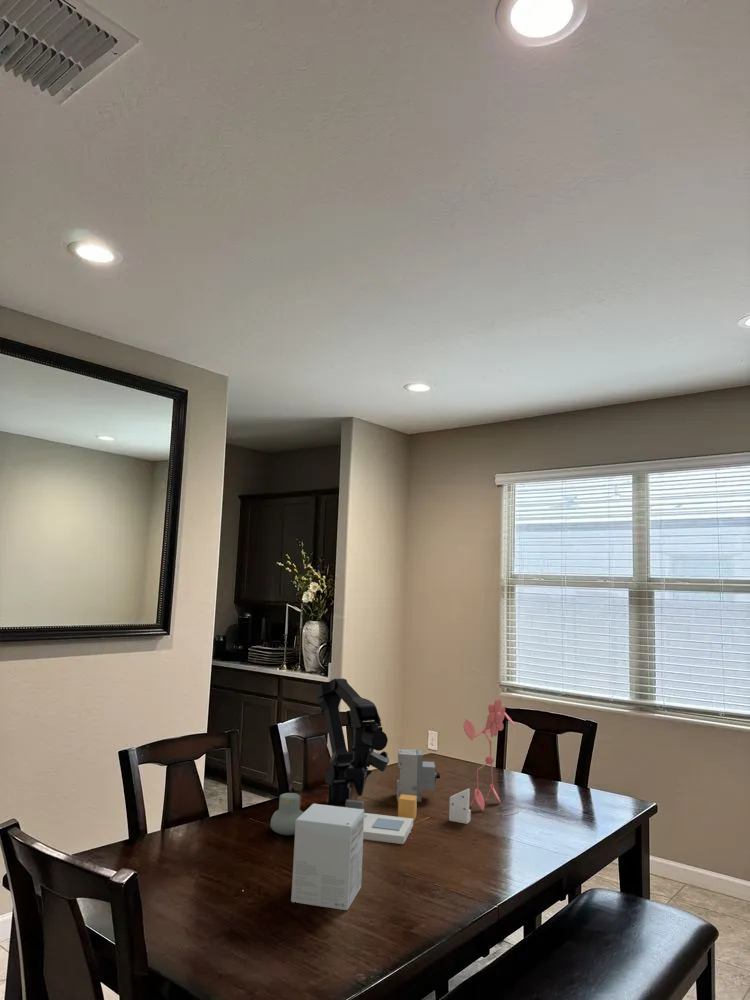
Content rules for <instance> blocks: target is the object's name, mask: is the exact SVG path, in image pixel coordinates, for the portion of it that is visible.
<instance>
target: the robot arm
mask: <svg viewBox="0 0 750 1000" xmlns="http://www.w3.org/2000/svg"><path fill="white" fill-rule="evenodd" d="M314 694H315V697H316V700H317V705H319V707H320V708H321V709H322V711H324V712H323V713H324V716H325V721H326V726H327V727H326V728H327V733H328V738H329V744H330V748H331V756H330V760H329V762H328V763H329V764H328V765H329V768H328V769H327V771H326V772H325V774H324V782H325V783H326V784H328V797H327V798H328V799H327V801H326V805H335V806H345V802H346V800H348V799H349V800H352V797H351V795H352V786H351V787H350V785H351V784H353V786H354V788H355V790H356V793H357V796H358V797H361V796H363V793H364V789H365V785H366V782H367V780H368V779H367V778H368V777H369V776H370V775H371V774H372V772H373V769H369V768H370V767H373V768H375V769H378V771H380V772H385V771H386V769H387V766H388V764H389V762H390V758H389V757H388V752H387V751H385V748H386V747H387V745H388V741H389V738H388V736H387V733H385V732H384V731H383V727H382V720H381V717H380V715H379V713H378V709H377V706H376V704H375V703H374V702H373V701H371V700H369V699H368V698H363V697H361V695H360V694H359V693H358V692H357V691H356V690H355V689H354V688H353V687H352V686H351V685H350V684H349V682H348V680H347V679H346V678H344V677H343V678H333V679H330V681H329V680H328V681H327V682H325V683H322V684H319V685H318V686H317V687H316V688H315V692H314ZM341 701H343V702H344V703H345V704H346V706H348V708H349V715H350V716H351V718H352V720H353V722H351V727H353V743H352V745H353V746H352V747H351V752H349V750H348V749H347V745H346V739H345V735H344V729H343V725H342V724H343V723H342V720H341V719H342V718H341V715H340V709H339V707H340V704H341ZM374 750H375V751H376V752H375V751H374ZM379 751H381V752H380V753H379Z"/></svg>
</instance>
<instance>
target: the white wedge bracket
mask: <svg viewBox="0 0 750 1000" xmlns="http://www.w3.org/2000/svg"><path fill="white" fill-rule="evenodd" d="M470 791H471V789H470V788H466V789H465V790H462V791H460V792H457V793H455V794H454V795H451V796H450V797H449V808H448V811H449V815H448V817H449V818H448V820H449V821H450V822H456V823H461V824H467V825H468V823H470V822H471V820H472V819H471V818H472V809H470V795H471V794H470ZM449 821H448V822H449Z"/></svg>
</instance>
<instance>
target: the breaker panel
mask: <svg viewBox="0 0 750 1000" xmlns="http://www.w3.org/2000/svg"><path fill="white" fill-rule="evenodd" d="M413 827H414V821H413V819H412V818H404V817H398V816H395V815H393V816H392V815H385V814H376V813H367V812H364V829H363V840H368V841H374V842H375V841H376V842H383V843H384V842H385V843H392V844H398V845H399V844H400V845H405V843H406V840H407V838H408V836H409V834H410V833H411V830H412V828H413Z"/></svg>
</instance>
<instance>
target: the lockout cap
mask: <svg viewBox="0 0 750 1000" xmlns="http://www.w3.org/2000/svg"><path fill="white" fill-rule="evenodd" d="M417 804H418V802H417V796H413V795H403V794H401V796H400V797H399V799H398V801H397V817H404V818H412V819H413V822H415V819H416V818H417V811H418V810H417V809H418V808H417V806H418V805H417Z"/></svg>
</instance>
